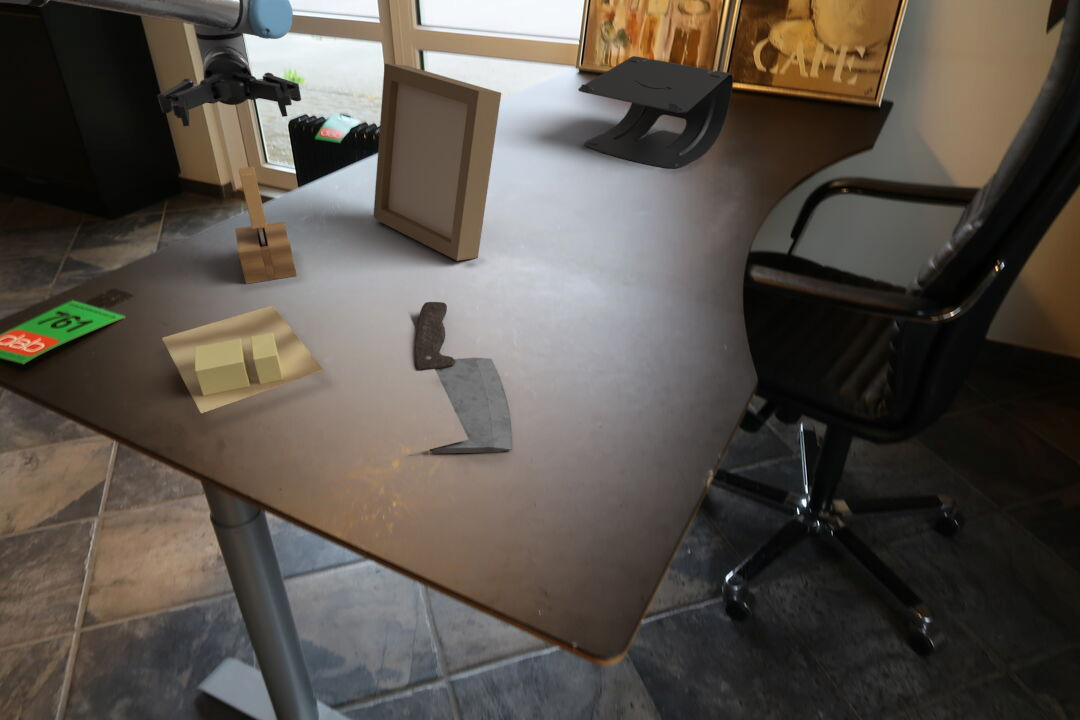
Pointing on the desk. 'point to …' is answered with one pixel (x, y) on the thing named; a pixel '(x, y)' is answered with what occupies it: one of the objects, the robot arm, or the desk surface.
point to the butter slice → (266, 358)
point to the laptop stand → (662, 110)
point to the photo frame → (435, 158)
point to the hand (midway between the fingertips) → (234, 111)
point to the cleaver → (464, 388)
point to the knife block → (265, 253)
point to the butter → (221, 367)
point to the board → (243, 327)
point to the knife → (253, 200)
